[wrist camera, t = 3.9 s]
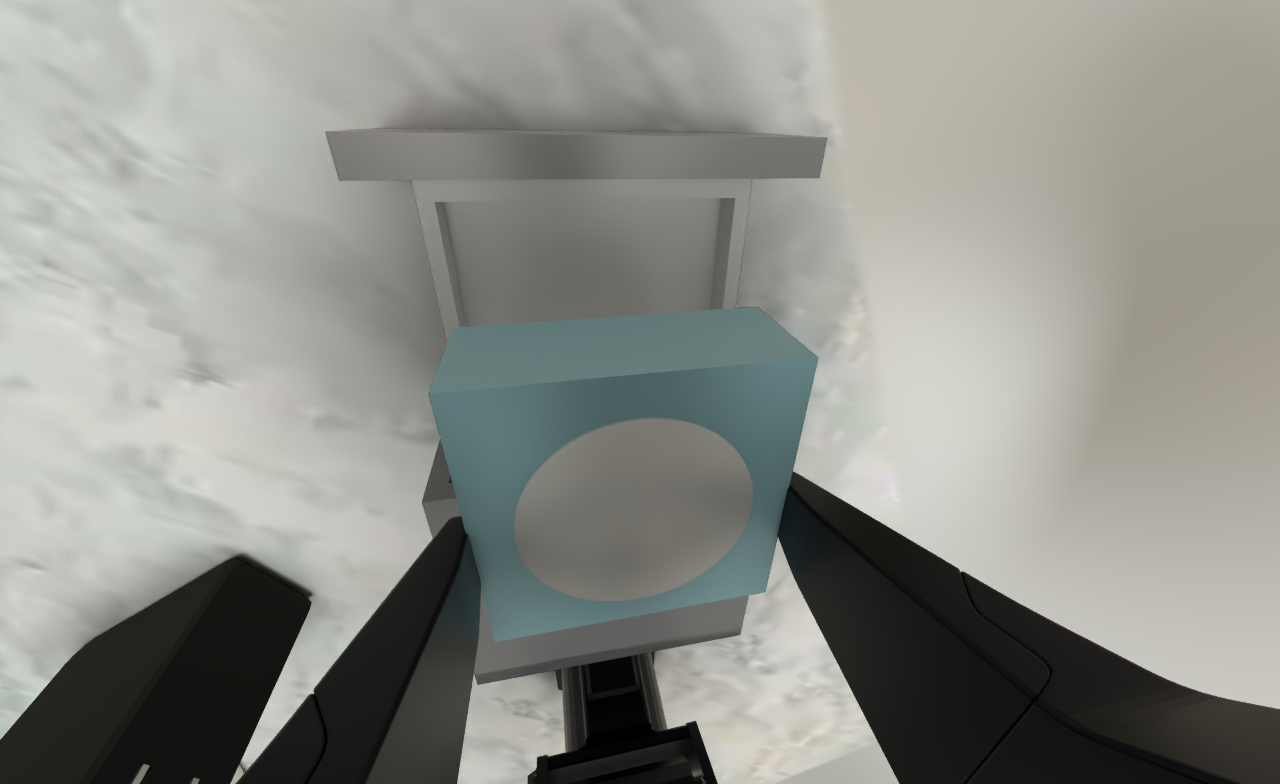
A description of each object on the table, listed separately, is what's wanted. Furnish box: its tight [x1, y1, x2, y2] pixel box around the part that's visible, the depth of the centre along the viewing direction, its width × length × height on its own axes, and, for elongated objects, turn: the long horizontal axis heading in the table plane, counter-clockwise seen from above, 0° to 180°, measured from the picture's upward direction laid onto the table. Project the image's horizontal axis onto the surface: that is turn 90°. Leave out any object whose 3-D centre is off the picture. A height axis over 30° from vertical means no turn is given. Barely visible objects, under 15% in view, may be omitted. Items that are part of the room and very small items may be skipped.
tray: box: [325, 128, 827, 342], centre depth 16 cm, size 11×12×4 cm
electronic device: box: [0, 558, 311, 784], centre depth 18 cm, size 4×10×10 cm, turn 118°
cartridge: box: [428, 307, 818, 642], centre depth 9 cm, size 6×6×3 cm
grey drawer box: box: [422, 439, 749, 685], centre depth 21 cm, size 11×12×5 cm
